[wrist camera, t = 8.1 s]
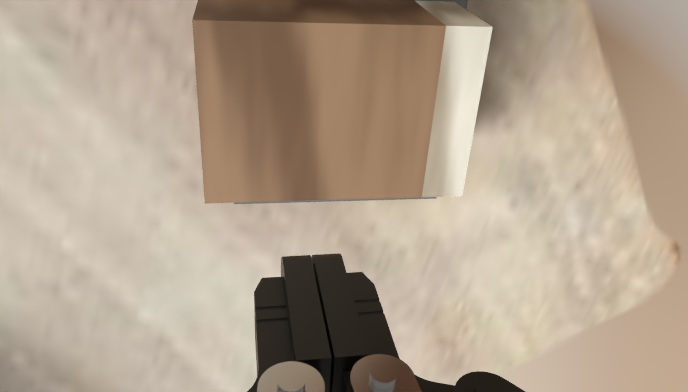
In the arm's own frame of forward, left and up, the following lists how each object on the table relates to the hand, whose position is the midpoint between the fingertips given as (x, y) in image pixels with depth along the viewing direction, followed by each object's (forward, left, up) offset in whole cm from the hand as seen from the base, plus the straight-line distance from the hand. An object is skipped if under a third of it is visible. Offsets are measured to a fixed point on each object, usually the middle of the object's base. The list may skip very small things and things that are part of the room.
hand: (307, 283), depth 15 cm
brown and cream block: (-3, 0, -14) cm, 14 cm away
